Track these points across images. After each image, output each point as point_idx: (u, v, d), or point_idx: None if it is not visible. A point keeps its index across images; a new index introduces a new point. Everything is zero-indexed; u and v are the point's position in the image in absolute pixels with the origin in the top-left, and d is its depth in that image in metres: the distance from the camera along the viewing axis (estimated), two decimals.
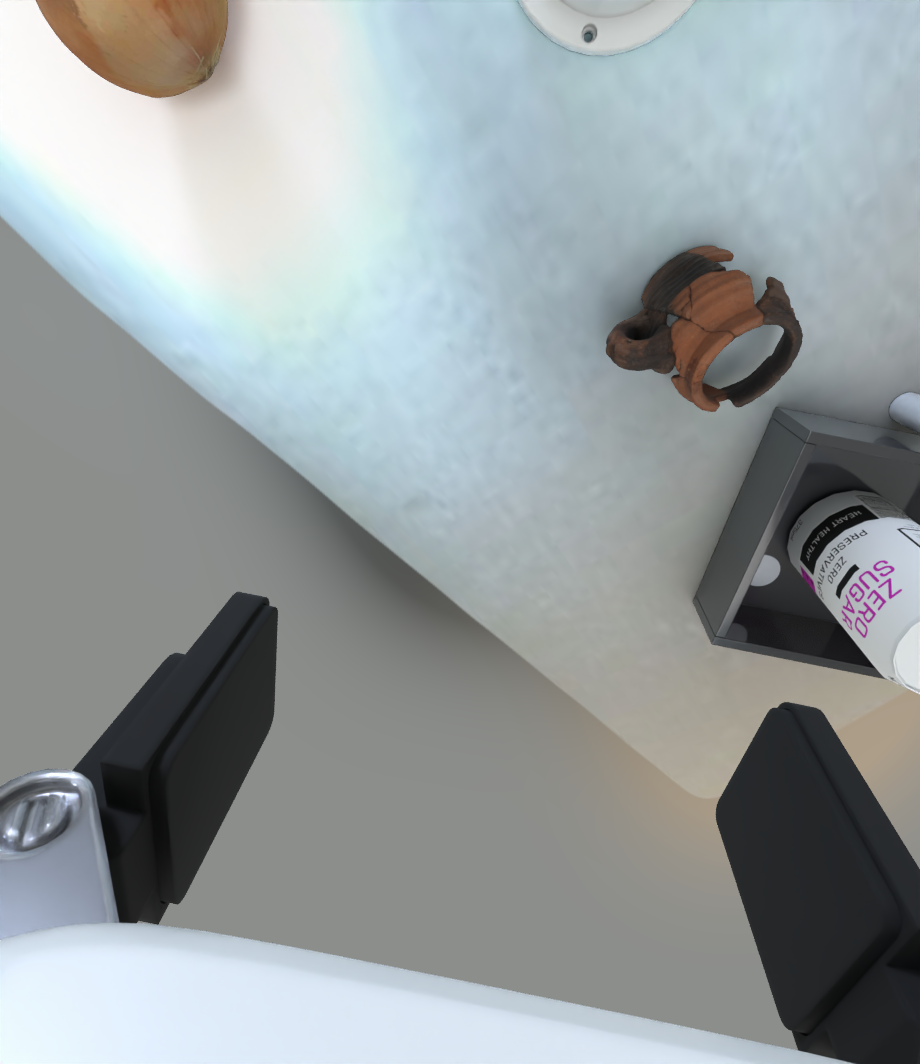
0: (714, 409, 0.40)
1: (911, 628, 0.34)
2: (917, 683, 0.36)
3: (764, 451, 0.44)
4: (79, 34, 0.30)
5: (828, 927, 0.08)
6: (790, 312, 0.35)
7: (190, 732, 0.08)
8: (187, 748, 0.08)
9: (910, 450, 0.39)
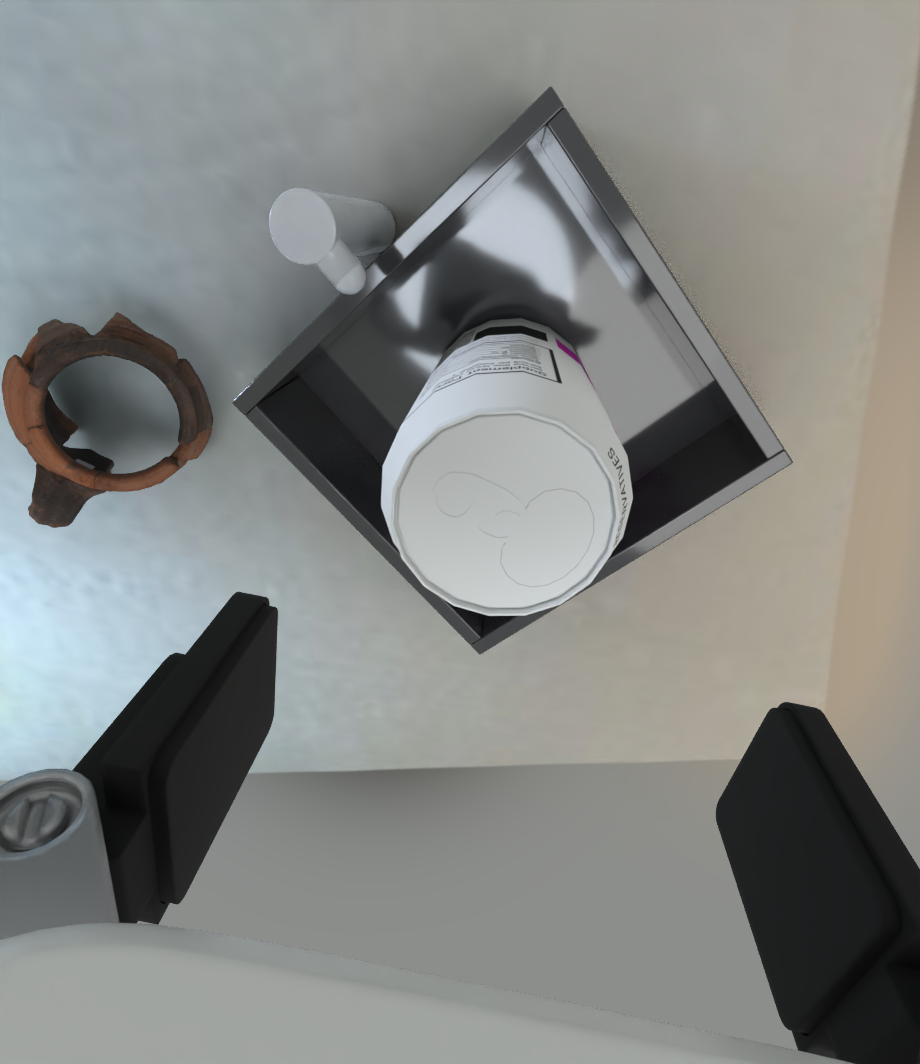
0: (171, 469, 0.30)
1: (410, 554, 0.19)
2: (533, 595, 0.20)
3: None
4: None
5: (828, 927, 0.08)
6: (54, 346, 0.26)
7: (190, 732, 0.08)
8: (187, 748, 0.08)
9: (334, 301, 0.25)
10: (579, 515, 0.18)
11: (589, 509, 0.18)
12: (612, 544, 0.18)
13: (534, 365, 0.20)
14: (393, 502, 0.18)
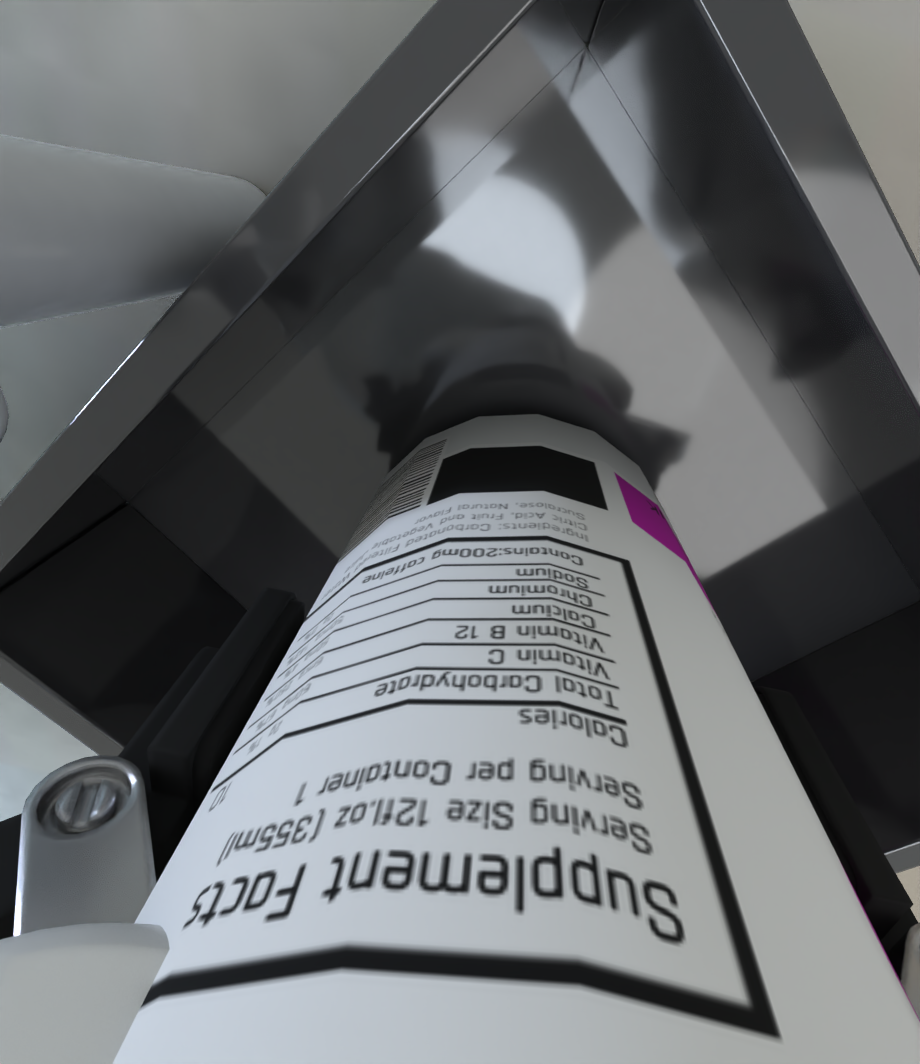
0: None
1: None
2: None
3: None
4: None
5: None
6: None
7: (230, 721, 0.08)
8: (227, 736, 0.08)
9: None
10: None
11: None
12: None
13: (612, 787, 0.05)
14: None
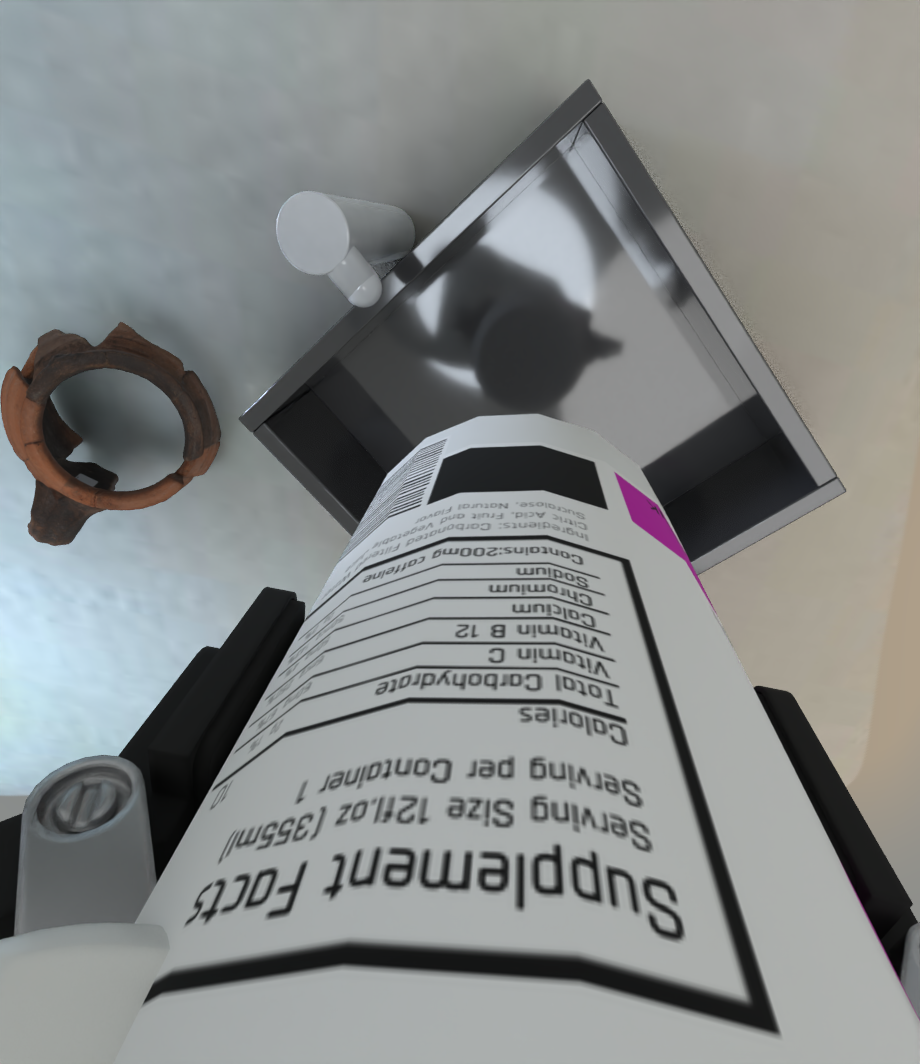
0: (175, 486, 0.28)
1: None
2: None
3: None
4: None
5: None
6: (53, 358, 0.25)
7: (230, 721, 0.08)
8: (227, 736, 0.08)
9: (348, 312, 0.23)
10: None
11: None
12: None
13: (612, 785, 0.05)
14: None
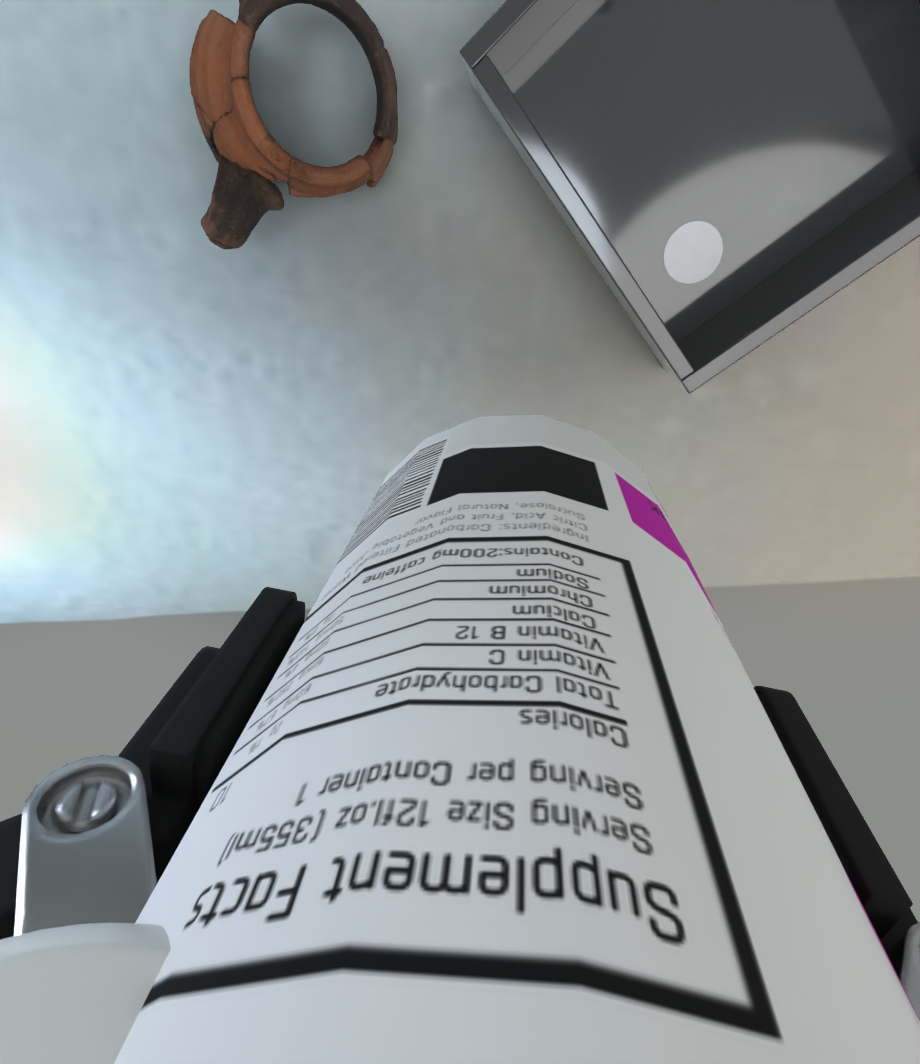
0: (365, 167, 0.27)
1: None
2: None
3: (509, 137, 0.29)
4: None
5: None
6: None
7: (230, 721, 0.08)
8: (227, 736, 0.08)
9: None
10: None
11: None
12: None
13: (613, 787, 0.05)
14: None
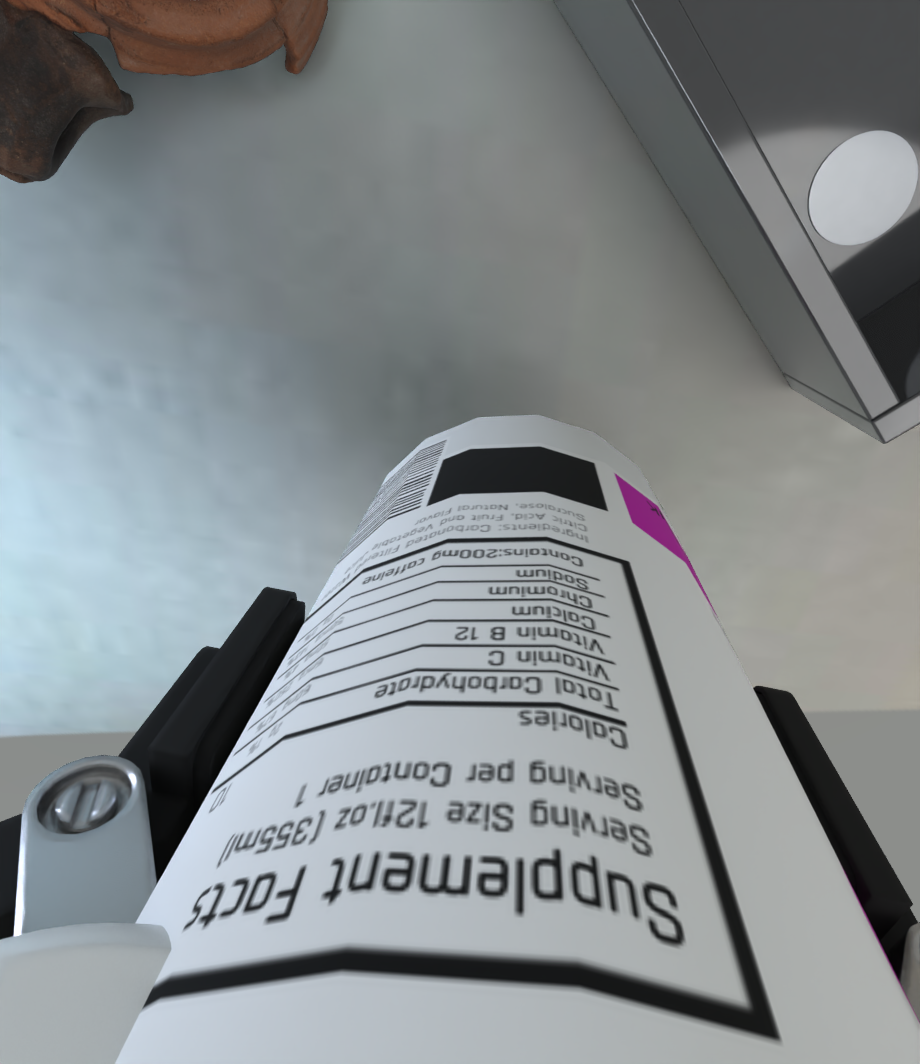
0: (262, 5, 0.14)
1: None
2: None
3: None
4: None
5: None
6: None
7: (230, 721, 0.08)
8: (227, 736, 0.08)
9: None
10: None
11: None
12: None
13: (612, 789, 0.05)
14: None
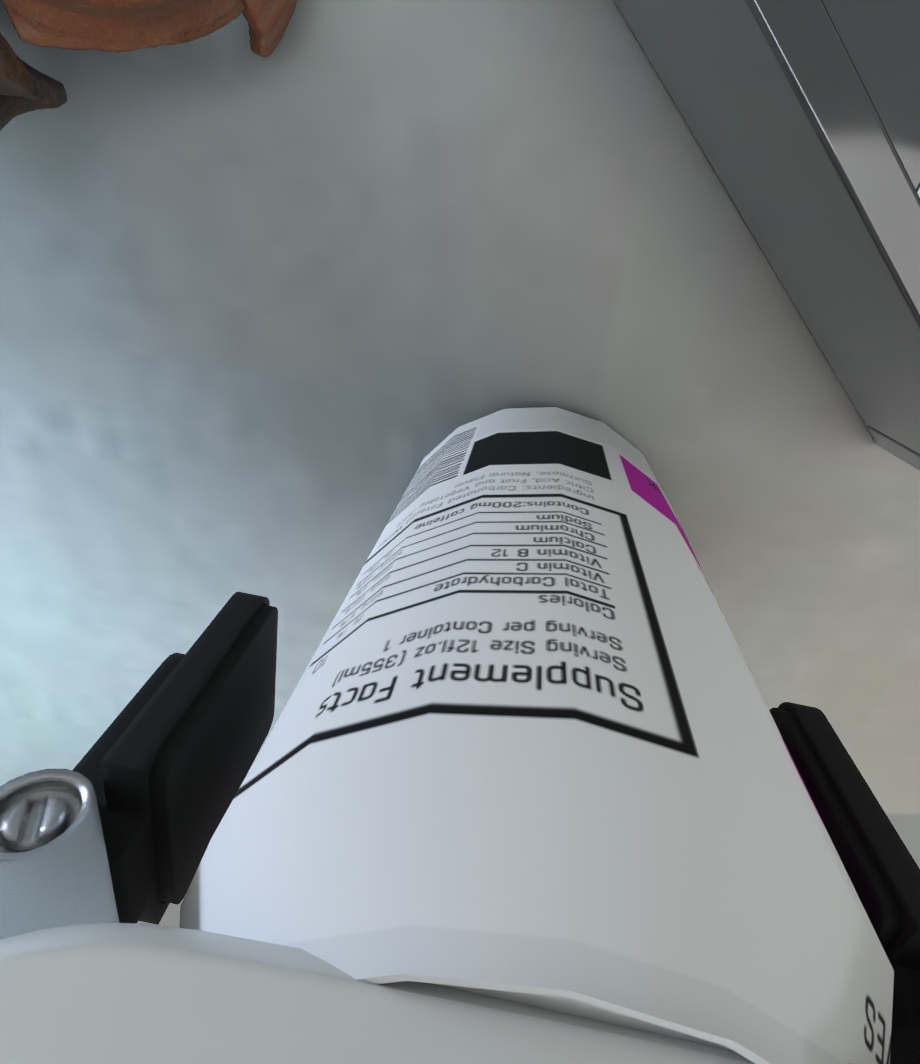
0: None
1: None
2: None
3: None
4: None
5: None
6: None
7: (190, 732, 0.08)
8: (187, 748, 0.08)
9: None
10: None
11: None
12: None
13: (602, 637, 0.07)
14: None
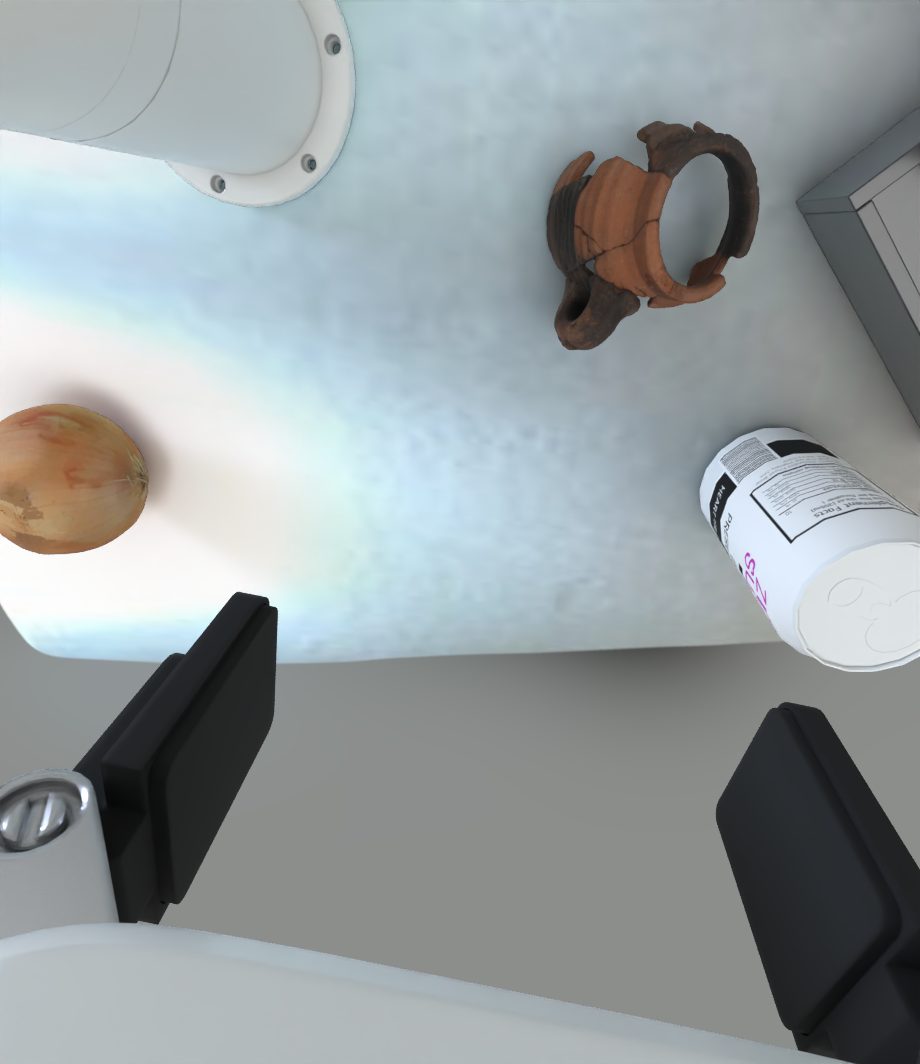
0: (722, 283, 0.31)
1: (800, 629, 0.28)
2: (882, 658, 0.28)
3: (831, 250, 0.32)
4: (58, 546, 0.37)
5: (828, 927, 0.08)
6: (689, 137, 0.27)
7: (190, 732, 0.08)
8: (187, 748, 0.08)
9: None
10: None
11: None
12: None
13: (884, 497, 0.28)
14: (803, 596, 0.27)
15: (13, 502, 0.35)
